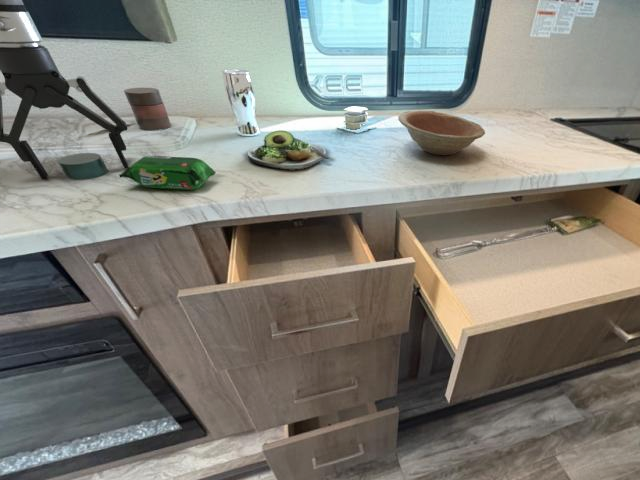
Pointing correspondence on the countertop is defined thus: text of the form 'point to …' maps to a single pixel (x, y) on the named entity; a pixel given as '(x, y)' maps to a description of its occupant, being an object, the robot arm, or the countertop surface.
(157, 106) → the brown striped cylinder
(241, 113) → the beer glass
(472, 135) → the bowl
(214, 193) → the countertop surface
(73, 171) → the teal short cylinder
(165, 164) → the snack package
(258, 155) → the salad plate
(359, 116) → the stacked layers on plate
